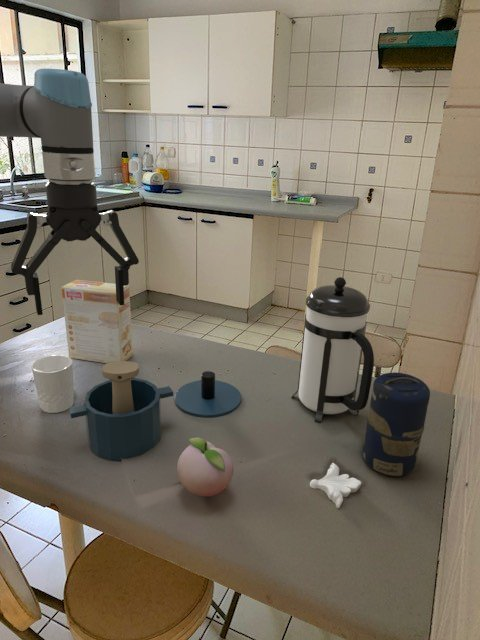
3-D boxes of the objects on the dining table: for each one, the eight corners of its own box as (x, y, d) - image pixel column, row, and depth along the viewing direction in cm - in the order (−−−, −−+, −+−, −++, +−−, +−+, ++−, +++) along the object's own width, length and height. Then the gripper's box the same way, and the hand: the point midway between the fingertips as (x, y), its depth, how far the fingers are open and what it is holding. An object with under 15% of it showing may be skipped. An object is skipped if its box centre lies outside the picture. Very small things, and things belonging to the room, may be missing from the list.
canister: (418, 484, 81) (438, 395, 74) (362, 476, 82) (378, 388, 76) (409, 450, 90) (427, 368, 83) (359, 443, 91) (372, 362, 84)
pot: (68, 430, 91) (63, 388, 88) (161, 409, 100) (160, 370, 96) (80, 473, 80) (75, 427, 77) (183, 445, 88) (183, 402, 85)
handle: (109, 429, 91) (103, 361, 86) (142, 427, 92) (139, 360, 87) (106, 444, 87) (100, 374, 81) (141, 442, 88) (137, 372, 82)
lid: (165, 391, 106) (164, 365, 104) (223, 379, 113) (224, 354, 110) (188, 426, 94) (188, 398, 92) (252, 410, 101) (254, 383, 98)
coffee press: (279, 416, 99) (290, 282, 87) (303, 383, 112) (315, 263, 101) (360, 440, 92) (384, 298, 81) (375, 402, 105) (397, 276, 94)
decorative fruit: (166, 492, 77) (164, 442, 73) (201, 468, 83) (201, 420, 79) (206, 522, 71) (207, 470, 67) (241, 494, 77) (243, 444, 73)
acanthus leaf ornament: (331, 467, 84) (333, 459, 84) (364, 488, 80) (365, 479, 79) (305, 486, 79) (306, 477, 79) (338, 509, 75) (340, 500, 74)
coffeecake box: (133, 354, 123) (130, 284, 116) (121, 366, 117) (116, 293, 109) (82, 347, 126) (76, 278, 119) (68, 358, 120) (60, 286, 112)
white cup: (41, 419, 95) (35, 375, 91) (34, 400, 101) (28, 359, 97) (81, 408, 99) (76, 367, 95) (71, 391, 105) (67, 352, 101)
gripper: (-20, 184, 64) (2, 325, 72) (155, 183, 75) (157, 305, 83) (-20, 178, 70) (0, 308, 78) (141, 178, 81) (144, 292, 89)
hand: (81, 307), depth 81 cm, fingers open, 13 cm apart
